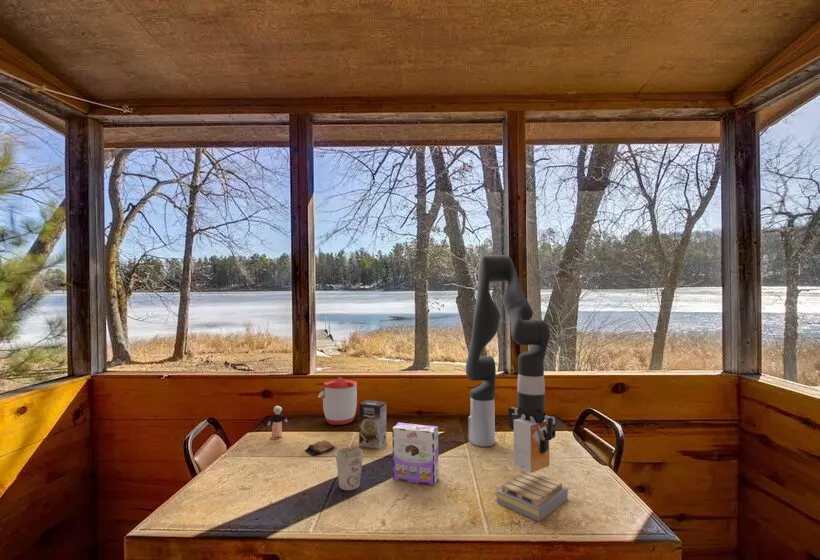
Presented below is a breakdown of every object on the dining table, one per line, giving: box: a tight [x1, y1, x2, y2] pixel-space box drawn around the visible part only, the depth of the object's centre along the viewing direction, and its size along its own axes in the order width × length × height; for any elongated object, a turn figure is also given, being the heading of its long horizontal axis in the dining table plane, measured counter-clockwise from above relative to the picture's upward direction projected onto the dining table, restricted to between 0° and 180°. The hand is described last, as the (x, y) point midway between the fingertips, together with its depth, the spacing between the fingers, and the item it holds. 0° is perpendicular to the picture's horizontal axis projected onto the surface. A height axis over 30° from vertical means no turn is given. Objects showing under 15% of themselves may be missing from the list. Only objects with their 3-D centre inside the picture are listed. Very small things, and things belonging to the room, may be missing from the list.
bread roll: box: [304, 439, 338, 457], centre depth 149 cm, size 11×8×4 cm
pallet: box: [501, 470, 563, 506], centre depth 113 cm, size 11×14×2 cm
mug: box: [335, 446, 364, 491], centre depth 124 cm, size 8×13×10 cm, turn 27°
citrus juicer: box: [318, 376, 358, 426], centre depth 180 cm, size 16×17×20 cm
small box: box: [513, 417, 550, 473], centre depth 113 cm, size 8×6×13 cm
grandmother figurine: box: [267, 405, 288, 440], centre depth 162 cm, size 8×4×13 cm, turn 129°
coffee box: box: [358, 399, 388, 450], centre depth 154 cm, size 9×6×16 cm
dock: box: [495, 485, 569, 522], centre depth 113 cm, size 13×16×3 cm
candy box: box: [391, 422, 440, 486], centre depth 126 cm, size 14×6×16 cm, turn 71°
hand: (531, 448), depth 113 cm, fingers closed on small box, 6 cm apart
